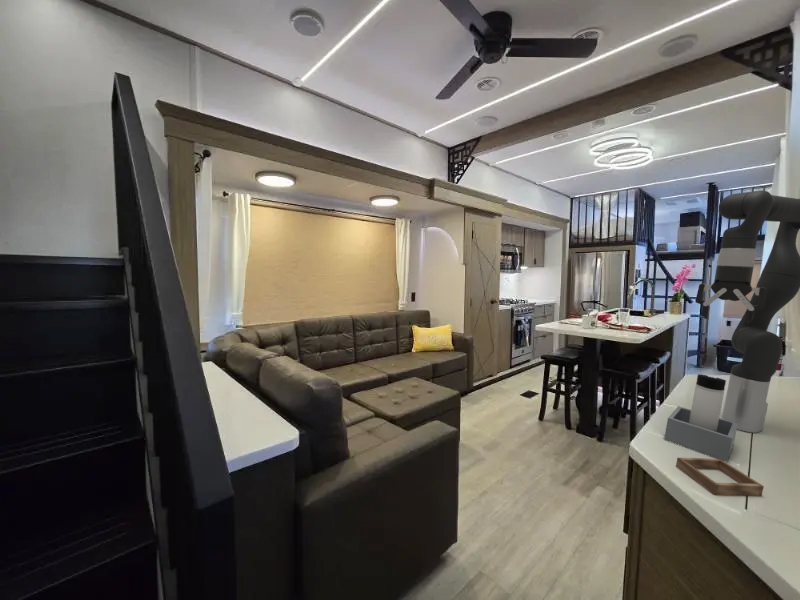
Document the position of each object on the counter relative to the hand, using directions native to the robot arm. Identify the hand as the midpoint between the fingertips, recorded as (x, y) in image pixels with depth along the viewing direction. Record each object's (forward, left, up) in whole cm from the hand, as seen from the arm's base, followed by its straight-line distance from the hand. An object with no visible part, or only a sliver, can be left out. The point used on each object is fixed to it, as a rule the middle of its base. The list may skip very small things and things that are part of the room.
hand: (725, 321), depth 99 cm
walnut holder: (+15, +19, -37) cm, 44 cm away
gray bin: (+3, +1, -37) cm, 37 cm away
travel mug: (+2, +1, -36) cm, 36 cm away
